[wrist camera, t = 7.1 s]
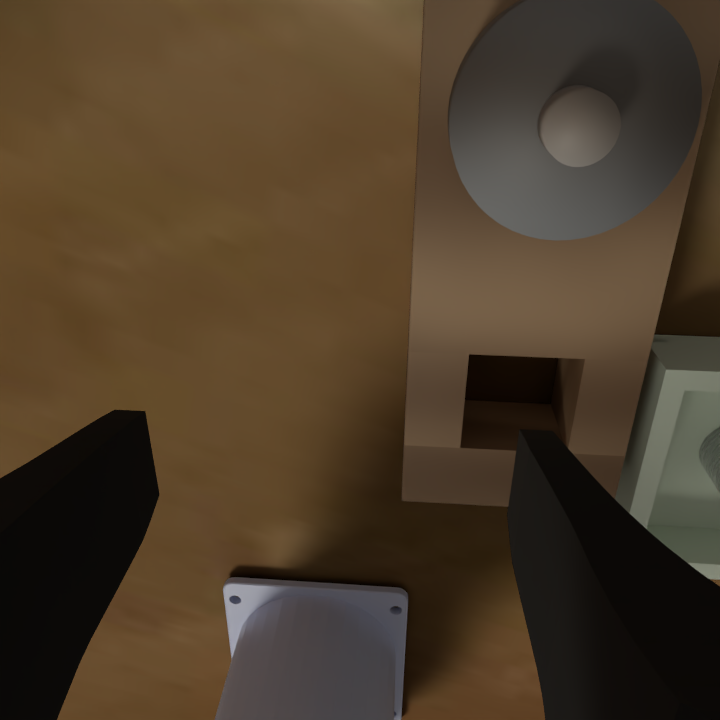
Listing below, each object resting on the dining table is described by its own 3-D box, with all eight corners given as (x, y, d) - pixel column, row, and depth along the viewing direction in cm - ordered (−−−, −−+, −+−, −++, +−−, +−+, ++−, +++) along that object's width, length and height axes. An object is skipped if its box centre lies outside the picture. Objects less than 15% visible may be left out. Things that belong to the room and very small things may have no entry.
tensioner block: (590, 458, 25) (632, 565, 20) (403, 449, 25) (399, 551, 20) (695, -42, 17) (802, -62, 12) (425, -43, 18) (429, -63, 13)
